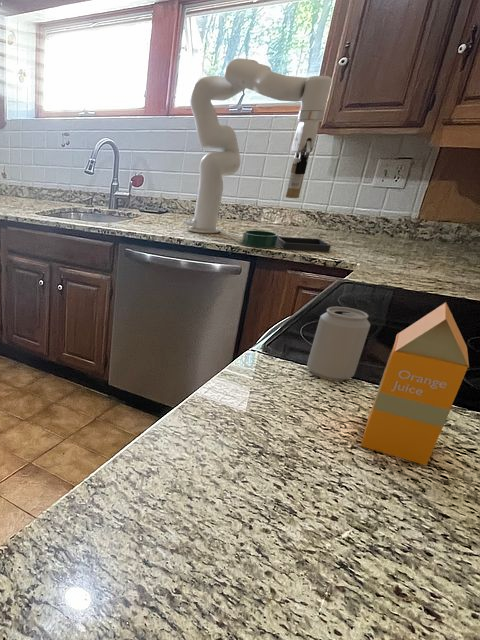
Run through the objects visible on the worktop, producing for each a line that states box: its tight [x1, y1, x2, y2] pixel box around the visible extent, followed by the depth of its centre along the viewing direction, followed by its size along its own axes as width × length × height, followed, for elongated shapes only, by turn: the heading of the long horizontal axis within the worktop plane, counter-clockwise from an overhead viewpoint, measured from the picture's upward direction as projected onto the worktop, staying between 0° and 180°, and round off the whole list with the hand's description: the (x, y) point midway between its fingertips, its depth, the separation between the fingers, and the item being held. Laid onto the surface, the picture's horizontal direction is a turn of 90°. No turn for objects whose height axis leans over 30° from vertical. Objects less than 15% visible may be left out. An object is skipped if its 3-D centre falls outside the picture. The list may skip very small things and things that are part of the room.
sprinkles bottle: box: [285, 157, 305, 199], centre depth 187 cm, size 5×5×14 cm
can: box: [306, 306, 371, 382], centre depth 93 cm, size 8×8×12 cm
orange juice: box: [360, 301, 470, 466], centre depth 71 cm, size 8×9×20 cm
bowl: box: [241, 229, 279, 249], centre depth 198 cm, size 12×12×4 cm
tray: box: [276, 236, 332, 253], centre depth 195 cm, size 15×12×2 cm
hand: (297, 172), depth 186 cm, fingers closed on sprinkles bottle, 4 cm apart
